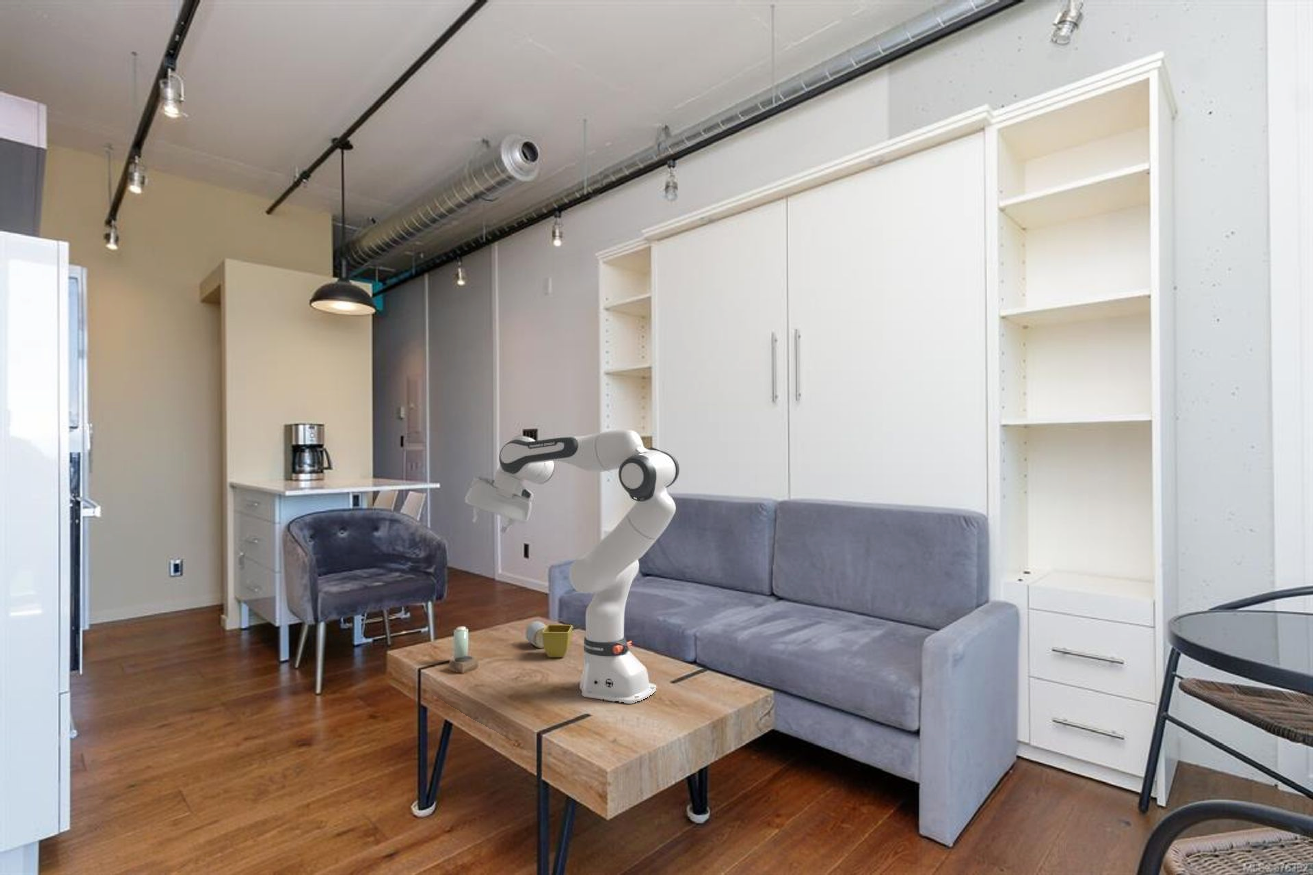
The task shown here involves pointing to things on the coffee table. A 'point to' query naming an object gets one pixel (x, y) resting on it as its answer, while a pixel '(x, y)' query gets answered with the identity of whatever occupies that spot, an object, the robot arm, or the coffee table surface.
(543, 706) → the coffee table surface
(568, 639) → the flower pot
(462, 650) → the column
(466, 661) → the base
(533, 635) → the ceramic mug
